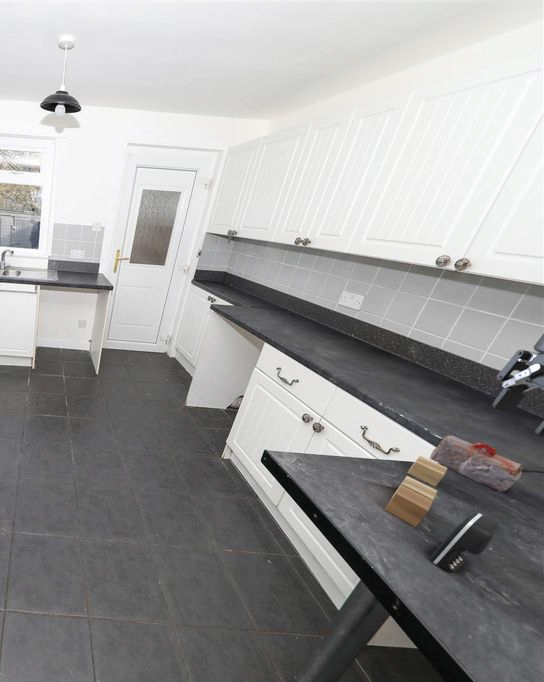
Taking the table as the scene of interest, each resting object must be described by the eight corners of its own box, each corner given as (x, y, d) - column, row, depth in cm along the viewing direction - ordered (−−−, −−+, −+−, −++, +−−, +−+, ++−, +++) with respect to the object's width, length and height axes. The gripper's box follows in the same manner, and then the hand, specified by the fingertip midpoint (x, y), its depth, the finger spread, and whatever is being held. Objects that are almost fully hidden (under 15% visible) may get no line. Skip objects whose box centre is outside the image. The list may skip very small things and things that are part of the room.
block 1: (409, 469, 89) (419, 455, 87) (436, 482, 85) (447, 467, 83) (404, 476, 86) (415, 461, 84) (432, 490, 82) (444, 474, 81)
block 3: (390, 500, 78) (401, 485, 76) (420, 517, 74) (433, 501, 72) (384, 509, 75) (396, 493, 73) (415, 527, 71) (428, 510, 69)
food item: (505, 487, 86) (532, 458, 82) (501, 499, 82) (529, 468, 78) (430, 454, 96) (450, 426, 93) (423, 462, 92) (444, 434, 89)
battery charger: (455, 579, 61) (495, 537, 56) (426, 560, 64) (462, 519, 60) (469, 566, 64) (508, 525, 59) (441, 548, 67) (476, 508, 62)
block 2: (396, 491, 81) (407, 475, 79) (425, 506, 77) (437, 490, 75) (390, 499, 78) (402, 483, 76) (421, 515, 74) (433, 499, 72)
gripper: (704, 354, 40) (601, 457, 46) (586, 322, 52) (517, 408, 59) (610, 339, 43) (525, 439, 49) (519, 312, 55) (460, 395, 61)
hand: (521, 422), depth 54 cm, fingers open, 8 cm apart
